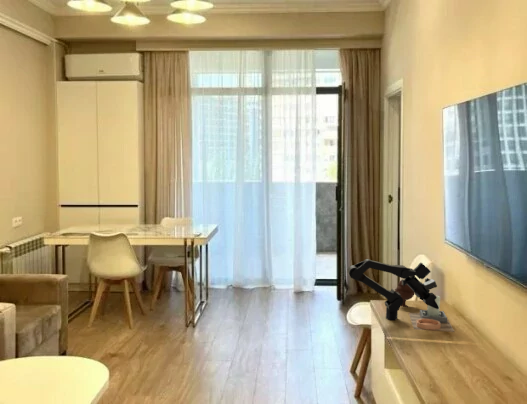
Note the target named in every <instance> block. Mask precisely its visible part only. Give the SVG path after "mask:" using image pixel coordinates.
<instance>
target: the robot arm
mask: <svg viewBox="0 0 527 404" xmlns="http://www.w3.org/2000/svg"><path fill="white" fill-rule="evenodd" d="M369 269H373V270H376V271H381V272H385V273H389V274H391V275H392V274H393V276H397V277H398V278H400V279H401V280H402V285H403V286H405V285H406V284H407V285H408V286H409V287H410V288H411V289H412V290H413V291H414V292H415V293H414V296H416V297H417V298H419V300H421V301H422V302H423V303H424V304H425V305H426V306H427V305H429V306H431V307H434V308H436V309H439V307H438V305H437V303H436V301H435V299H436V298H437V297H436V296H435V295H436V294H435V293H433V292H431V290H432V289H434V288H437V287H438V284H437V283H436V280H435V279H430V278H428V277H427V276H428V275H429V274H430V273H431V270H430V269H429V268H428V267H427V266H426V265H424V263H423V262H420V263H418V264H417V265H416V267H414V268H410V267H407V266H406V265H402V264H388V263H385V262H380V261H375V260H371V259H370V258H366V259H364V260H363V261H360V262H358V263H356V264H354V265H350V266H348V268H347V269H346V270H347V271H346V273H347V275H348V276H349V277H350V278H351V280H355V281H357V282H361V283H362V284H365V286H367V287H369V288H370V289H372V290H374V291H375V292H376V293H377V294H379V295H381V296H383V297H384V298H385V299H386V300H385V301H384V305H385V307H386V309H385V319H387V320H388V321H394V322H395V321H396V320H398V311H400V307H402V306H401V305H402V304H403V298H402V297H401V295H400V294H399V293H398V292H395V289H393V288H391V289H387V288H385V287H384V286H382V285H381V284H380V283H378V282H377V281H375V280H373V279H371V278H370V277H369V276H367V275H366V274H365V273H366V271H367V270H369ZM420 280H424V282H421V281H420Z"/></svg>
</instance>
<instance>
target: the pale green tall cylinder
mask: <svg viewBox="0 0 527 404" xmlns="http://www.w3.org/2000/svg"><path fill="white" fill-rule="evenodd" d="M434 295H435V296H436V297H437V298H436V299H435V301H436V303H437V305H438V307H439V309H436V308H434V307H431V306H429V305H426V306H427V308H426V310H427V316H434V317H439V311H441V310H440V308H441V307H440V306H441V296H440V295H436V294H434Z"/></svg>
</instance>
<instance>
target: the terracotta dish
mask: <svg viewBox="0 0 527 404" xmlns="http://www.w3.org/2000/svg"><path fill="white" fill-rule="evenodd" d="M416 325H417V327H420V328H423V329H432V330H435V329H439V328H440V327H441V324H440V322H439V321H436V320H433V319H418V320H416ZM432 330H431V331H432Z"/></svg>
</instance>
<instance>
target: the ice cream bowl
mask: <svg viewBox="0 0 527 404" xmlns="http://www.w3.org/2000/svg"><path fill="white" fill-rule="evenodd" d="M397 285H398V286H396V288H394V291H395V292H398V293H399V294H400V295H401V297H402V298H403V304H402V305H401V306H400V307H404V308H406V307H407V308H408V307H409V305H407V304H406V302H407V301H409V300H411V299H412V298H413V297H414V296H415V292H414V291H413V290H412V289H411V288H410V287H409V286H408V285H407V284H406V285H405V286H403V285H402V279H401V280H400V281H399V282H398V284H397Z"/></svg>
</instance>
